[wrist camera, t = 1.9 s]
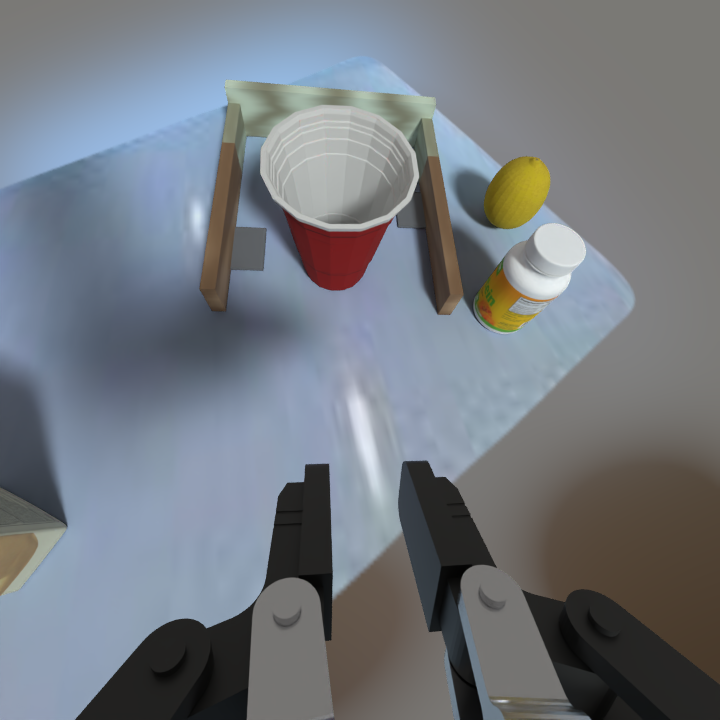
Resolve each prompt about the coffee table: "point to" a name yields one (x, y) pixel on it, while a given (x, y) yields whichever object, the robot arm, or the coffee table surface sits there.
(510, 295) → the supplement bottle
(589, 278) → the coffee table surface
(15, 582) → the skincare box
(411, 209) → the pads
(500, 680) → the robot arm
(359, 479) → the coffee table surface
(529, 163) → the lemon
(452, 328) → the coffee table surface
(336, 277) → the plastic cup
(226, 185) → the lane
